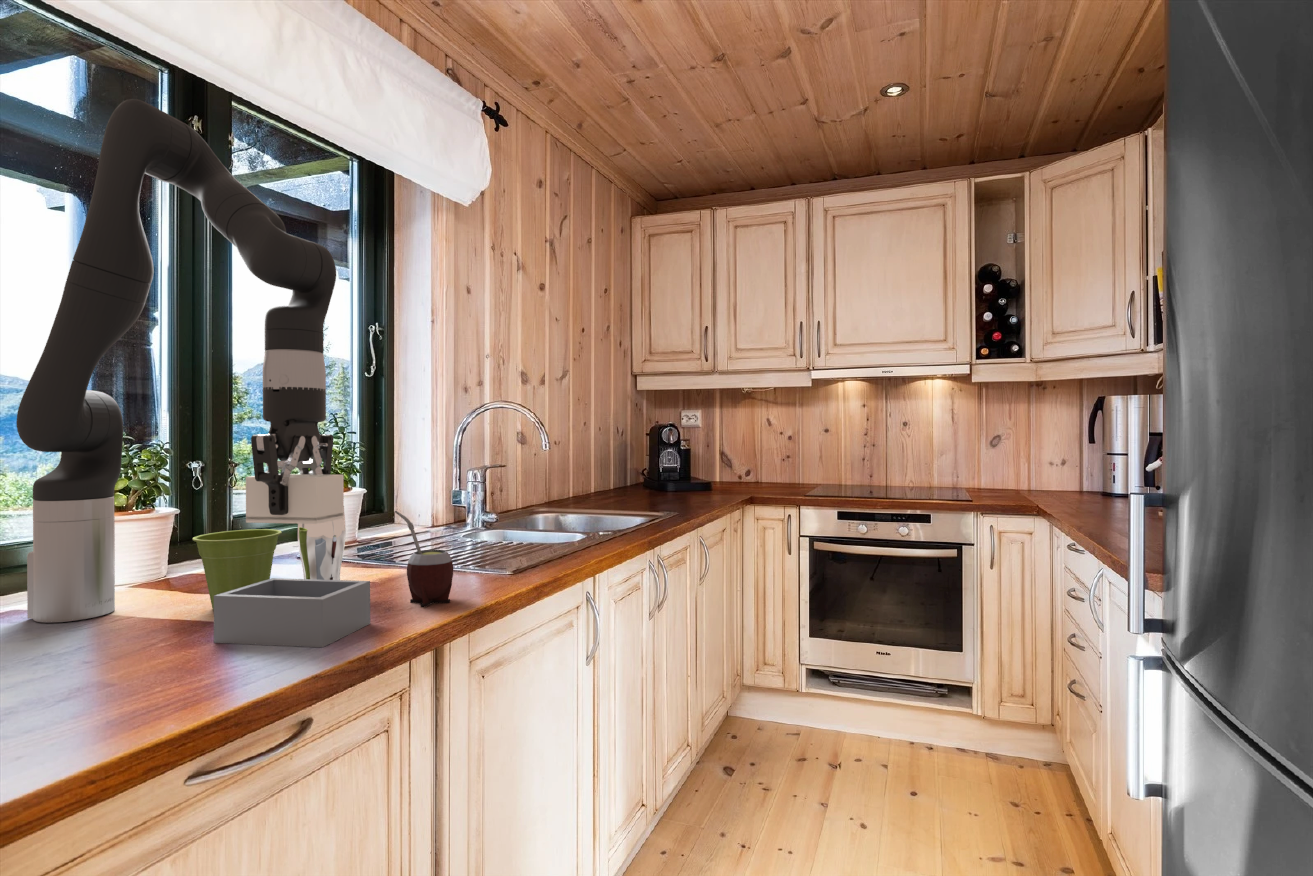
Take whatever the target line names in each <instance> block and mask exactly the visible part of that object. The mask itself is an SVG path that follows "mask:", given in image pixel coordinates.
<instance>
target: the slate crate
mask: <svg viewBox="0 0 1313 876" xmlns="http://www.w3.org/2000/svg"><path fill="white" fill-rule="evenodd" d="M369 625H371V580H352V579H351V580H348V579H347V580H345V579H343V580H341V579H340V580H317V579H304V578H280V577H270V579H268V580H264V581H261V582H258V583H254V584H251V585H248V586H245V587H241V588H238V589H235V590H231V591H228V592H225V593H221V594H218V595H215V596H214V610H213V643H214V644H216V643H217V644H236V645H237V644H239V645H259V646H260V645H261V646H284V647H286V646H287V647H303V648H305V647H306V648H310V647H311V648H324V647H327V646H329V645H330V644H332V643H335V642H336V641H338V640H340V639H342V638H345V637H346V636H348V635H351V634H352V633H354V632H357V631H358V630H360V629H362V628H365V627H367V626H369Z"/></svg>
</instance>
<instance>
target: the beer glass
mask: <svg viewBox="0 0 1313 876" xmlns="http://www.w3.org/2000/svg"><path fill="white" fill-rule="evenodd" d="M345 515H346V514H345V513H344V518H343V519H338V520H333V521H328V522H323V523H318V524H297V544H298V552H299V556H300V557H299V558H300V561H301V567H302V572H303V574H302V575H303V579H317V580H341V569H342V563H343V557H344V552H345V551H344V550H345V544H346V533H347V532H346V530H347V529H346V516H345Z"/></svg>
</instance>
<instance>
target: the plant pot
mask: <svg viewBox="0 0 1313 876" xmlns="http://www.w3.org/2000/svg"><path fill="white" fill-rule="evenodd" d="M280 535H282V531H281V530H279V529H273V528H272V529H269V528H262V529H261V528H260V529H259V528H258V529H255V528H254V529H253V528H252V529H239V530H236V529H235V530H225V531H219V532H218V531H217V532H211V533H205V534H200V535H196V536H194V537H192V541H194V543H195V542H196V545H197V551H198V554H199V556H200V557H201V561H202V567H203V571H204V575H205V580H206V584H207V585H206V586H207V589H208V593H209V600H210V603H211V608H212V610H213V611H214V596H215V595H218V594H221V593H225V592H228V591H231V590H235V589H238V588H241V587H245V586H248V585H251V584H254V583H258V582H261V581H264V580H268V579H271V574H272V573H271V572H272V567H273V560H274V554H275V550H276V548H277V544H278V539H279V538H278V537H279V536H280Z"/></svg>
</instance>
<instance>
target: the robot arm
mask: <svg viewBox="0 0 1313 876" xmlns="http://www.w3.org/2000/svg"><path fill="white" fill-rule="evenodd" d="M102 138H103V139H102V144H101V148H100V154H99V159H98V164H97V171H96V176H95V182H94V185H93V191H92V196H91V200H90V203H89V208H88V211H87V215H86V218H85V222H84V224H83V229H82V232H81V235H80V237H79V241H78V244H77V247H76V250H75V252H74V254H73V257H72V261H71V265H70V267H69V270H68V274H67V277H66V281H65V284H64V286H63V287H64V288H63V291H62V292H63V293H62V295H61V300H60V302H59V306H58V309H57V312H56V315H55V317H54V321H53V324H52V326H51V329H50V331H49V335H48V337H47V340H46V342H45V345H44V348H43V349H42V350H43V351H42V353H41V356H40V358H39V360H38V362H37V364H36V366H35V368H34V370H33V372H32V375H31V377H30V380H29V381H28V383H27V386H26V388H25V390H24V393H23V394H22V398H21V399H20V402H19V404H18V405H19V406H18V409H17V414H16V430H17V433H18V436H19V439H20V440H21V442H22V443H23V444H24V445H25V446H26V447H28V448H30V449H31V450H34V451H36V452H43V453H60V460H59V463H58V465H56V466H55V468H54V469H53V470H51V472H48V473H47V474H45V475H43V476H41V477H39V478H37V479H36V480H35V481H34V483H33V486H32V545H33V546H32V548H33V549H32V550H33V551H30V552H28V553H27V556H26V562H27V563H26V565H27V566H26V567H27V568H26V569H27V570H26V571H27V572H26V574H27V576H26V577H27V578H26V579H27V581H26V582H27V583H26V585H27V586H26V588H27V590H26V591H27V594H26V595H27V602H26V603H27V605H26V607H27V612H26V613H27V619H30V620H31V619H32V620H33V621H34V622H37V623H63V622H65V623H66V622H72V621H73V622H75V621H80V620H86V619H91V618H97V617H101V616H104V615H107V614H110V613H113V612H114V611H115V609H116V606H115V605H116V604H115V603H116V602H115V600H116V597H115V593H116V589H115V588H116V587H115V586H116V585H115V583H116V580H115V579H116V575H115V573H116V569H115V568H116V567H115V565H116V562H115V561H116V559H115V558H116V557H115V555H116V554H115V551H116V549H115V547H116V546H115V545H116V544H115V540H116V539H115V537H116V536H115V535H116V534H115V528H116V527H115V525H116V524H115V487H116V485H117V482H118V480H119V478H120V476H121V472H122V458H123V441H124V440H123V439H124V420H123V415H122V411H121V408H120V406H119V404H118V403H117V401H116V400H115V399H114V398H113V397H112V396H111V395H110V394H107V393H105V392H103V391H99V390H90V389H88V387H89V384H90V382H91V379H92V376H93V373H94V371H95V369H96V367H97V365H98V363H99V362H100V360H101V359H102V358H103V357H104V355H105V354H106V353H107V352H108V350H110V349H111V348H112V346H113V345H114V344H116V343H117V342H118V341H119V340H120V339H121V338H122V337H123V336H124V335H125V334H126V333H127V332H128V331H129V330H130V329H131V328H132V326H133V325H134V324H135V323H136V321H137V320H138V319H139V317H140V316H141V314H142V312H143V311H144V308H145V304H146V303H147V299H148V296H149V292H150V289H151V284H152V282H153V279H154V273H155V270H154V269H155V268H154V267H155V266H154V262H153V255H152V253H151V250H150V249H151V248H150V245H149V242H148V239H147V236H146V233H145V230H144V227H143V222H142V219H141V214H140V196H141V190H142V185H143V180H144V177H145V175H148V177H151V178H154V179H156V180H158V181H161V182H164V183H167V184H171V185H173V186H176V187H178V188H179V189H181V190H184V191H185V192H187V193H188V194H190V195H192V196H193V197H195V198H196V199H198V200H199V202H200V204H201V210H202V211H203V214H204V215H205V217H206V219H207V220H208V222H209V223H211V225H212V226H213V227H214V229H216V230H217V232H219V233H220V234H221V235H222V236H223V237H224V238H226V240H228V241H229V243H231V244H232V245H233V246H234V247H236V249H237V252H238V253H239V255H240V257H241V258H242V260H243V262H244V264H245V265H246V267H247V269H248V270H249V272H250V273H251V274H252V275H254V276H255V277H256V278H257V279H259V280H261V282H264V283H265V284H268V285H270V286H273V287H277V288H283V289H286V290H289V291H290V290H291V291H292V294H291V298H290V300H289V303H288V305H281V306H274V307H271V308H270V309H268V310H267V312H265V317H264V357H263V363H262V418H263V420H264V421H265V422H266V423H267V422H268V423H269V422H270V426H269V431H268V433H267V434H252V436H251V437H250V445H251V453H252V462H253V473H254V476H255V480H256V481H262V482H264V483H265V484H266V485H268V488H269V510H270V514H272V515H285V514H287V513H288V486H285V485H287V483H288V480H289V477H290V474H292V471H294V470H295V469H298V470H299V474H314V475H317V474H322V475H332V474H331V473H332V472H331V471H332V464H333V463H332V462H333V450H334V449H333V448H334V436H333V434H331V433H330V434H329V433H328V434H327V433H326V434H324V433H323V434H321V432H320V430H319V426H318V424H319V423H322V422H325V421H326V418H327V417H326V416H327V401H326V400H327V398H326V397H327V391H326V390H327V387H326V386H327V385H326V384H327V379H326V377H327V376H326V375H327V373H326V370H327V369H326V363H325V356H324V324H325V320H326V318H327V313H328V311H329V307H330V304H331V303H330V302H331V299H332V296H333V292H334V289H335V285H336V281H337V268H336V264H335V259H334V258H333V255H332V254H331V252H330V250H329V249H327V248H326V247H325V246H323V245H322V244H320V243H316V242H314V241H311V240H308V239H304V238H303V237H302V238H301V237H298V236H297V235H293V234H289V233H287V229H286V226H285V223H284V222H283V220H282V219H281V217H280V216H279V215H278V213H276V212H275V211H274V210H272V208H270V207H269V206H268V205H266V203H265V202H264V201H262V200H261V199H260V198H259V197H257V196H256V194H254V193H253V192H252V191H250V190H249V189H248V188H247V187H246V186H244V184H242V183H241V182H240V181H239V180H238V179H236V177H235V176H234V175H233V174H232V173H231V172H230V171H229V169H227V167H226V166H225V165H224V164H223V163H222V161H221V160H220V159H219V158H218V156H217V155H216V154H215V152H214V151H213V150H212V148H211V147H210V146H209V144H208V143H207V142H206V140H205V139H204V138H203V136H201V135H200V134H199V133H198V132H197V131H196V130H195V129H194V128H193V127H192V126H190V125H188V124H187V123H185V122H183V121H182V120H179V119H178V118H176V117H174V116H172V115H171V114H168V113H167V112H164V111H163V110H161V109H159V108H158V107H155V106H154V105H152V104H150V103H148V102H145V101H143V100H141V99H137V98H127V99H126V100H123V101H122V102H121V103H119V104H118V105H117V106H116V107H115V109H114V110H113V112H112V113H111V115H110V116H109V119H108V121H107V124H106V127H105V130H104V134H103V137H102ZM264 463H265V464H266V466H267V468H268V469H267V471H265V466H264ZM322 464H323V466H321V465H322ZM279 471H281V472H280V473H279ZM279 474H280V475H279Z"/></svg>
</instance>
